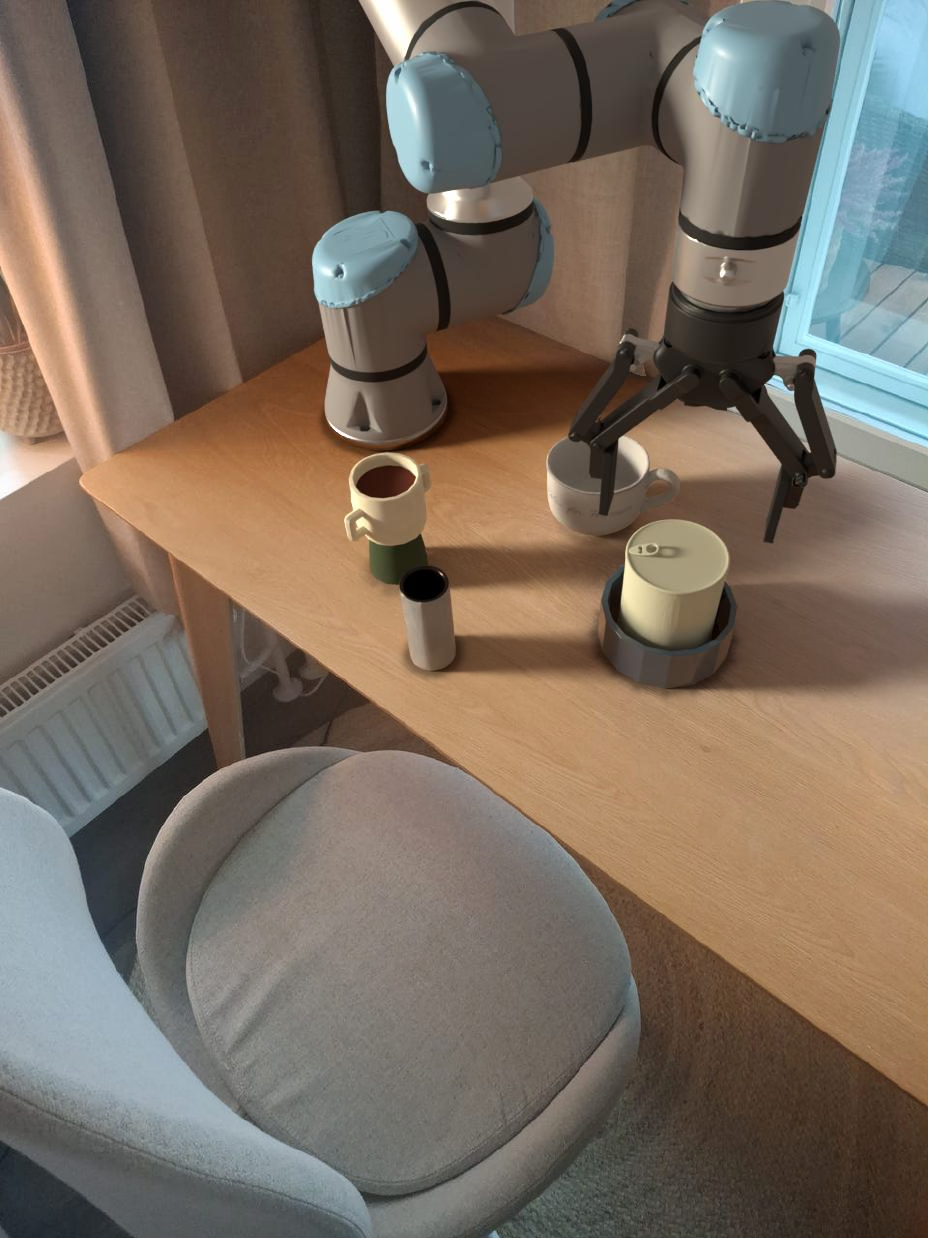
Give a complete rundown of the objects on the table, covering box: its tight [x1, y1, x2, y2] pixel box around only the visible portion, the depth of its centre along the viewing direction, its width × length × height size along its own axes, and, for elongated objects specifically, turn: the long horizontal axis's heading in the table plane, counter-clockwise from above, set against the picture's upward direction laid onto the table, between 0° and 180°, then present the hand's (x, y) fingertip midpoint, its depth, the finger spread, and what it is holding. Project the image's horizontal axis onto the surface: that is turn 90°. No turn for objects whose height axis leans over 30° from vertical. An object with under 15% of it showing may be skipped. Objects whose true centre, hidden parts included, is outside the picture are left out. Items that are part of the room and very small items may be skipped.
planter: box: [398, 564, 457, 671], centre depth 85 cm, size 4×4×10 cm
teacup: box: [545, 434, 681, 537], centre depth 97 cm, size 14×11×8 cm
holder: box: [597, 564, 739, 689], centre depth 87 cm, size 12×12×5 cm
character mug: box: [344, 451, 432, 586], centre depth 92 cm, size 11×7×13 cm, turn 135°
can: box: [616, 518, 731, 651], centre depth 84 cm, size 9×9×12 cm
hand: (686, 518), depth 76 cm, fingers open, 13 cm apart
